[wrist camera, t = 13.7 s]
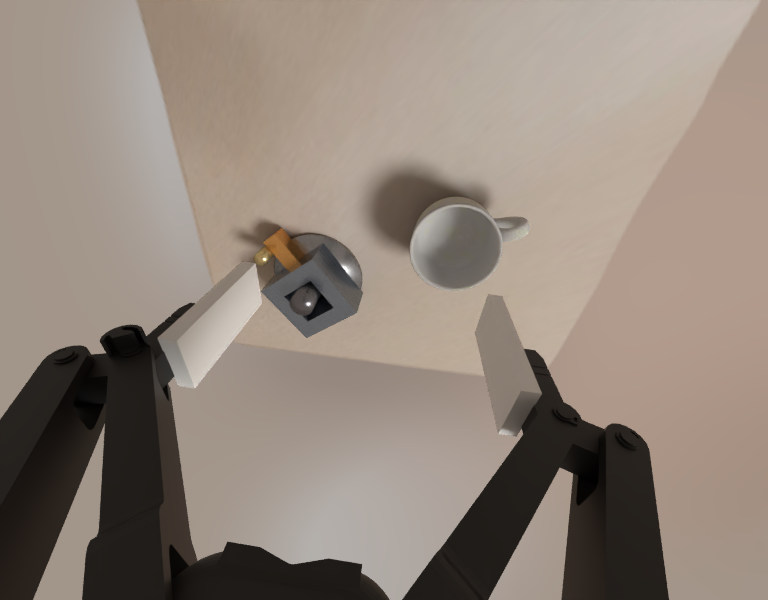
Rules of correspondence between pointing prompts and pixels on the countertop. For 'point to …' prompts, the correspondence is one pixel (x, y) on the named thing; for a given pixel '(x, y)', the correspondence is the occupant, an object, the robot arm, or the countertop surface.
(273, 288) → the grey hollow block
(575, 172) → the countertop surface
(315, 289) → the rod on disc base
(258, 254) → the dowel pin
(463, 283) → the teacup
